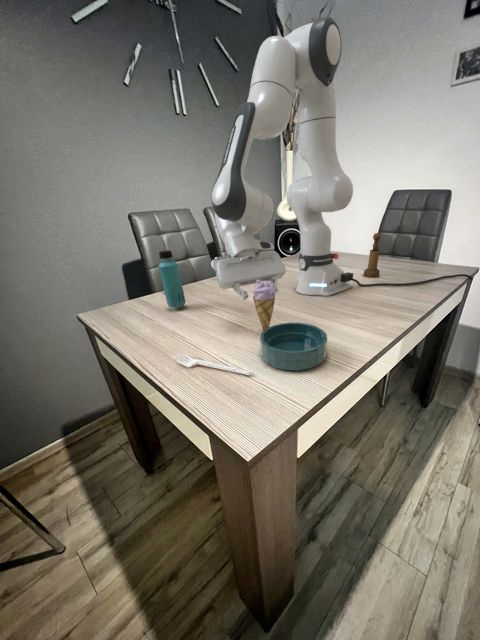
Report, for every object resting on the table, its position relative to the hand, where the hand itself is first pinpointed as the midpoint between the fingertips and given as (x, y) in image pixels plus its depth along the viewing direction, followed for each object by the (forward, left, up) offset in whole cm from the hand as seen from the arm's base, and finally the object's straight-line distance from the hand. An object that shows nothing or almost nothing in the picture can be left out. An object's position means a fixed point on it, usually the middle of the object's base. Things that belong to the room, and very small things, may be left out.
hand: (260, 295), depth 76 cm
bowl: (+1, +17, -10) cm, 20 cm away
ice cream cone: (0, +1, -10) cm, 10 cm away
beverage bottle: (+18, -33, -10) cm, 39 cm away
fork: (+20, +12, -10) cm, 26 cm away
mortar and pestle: (-67, -22, -10) cm, 71 cm away
